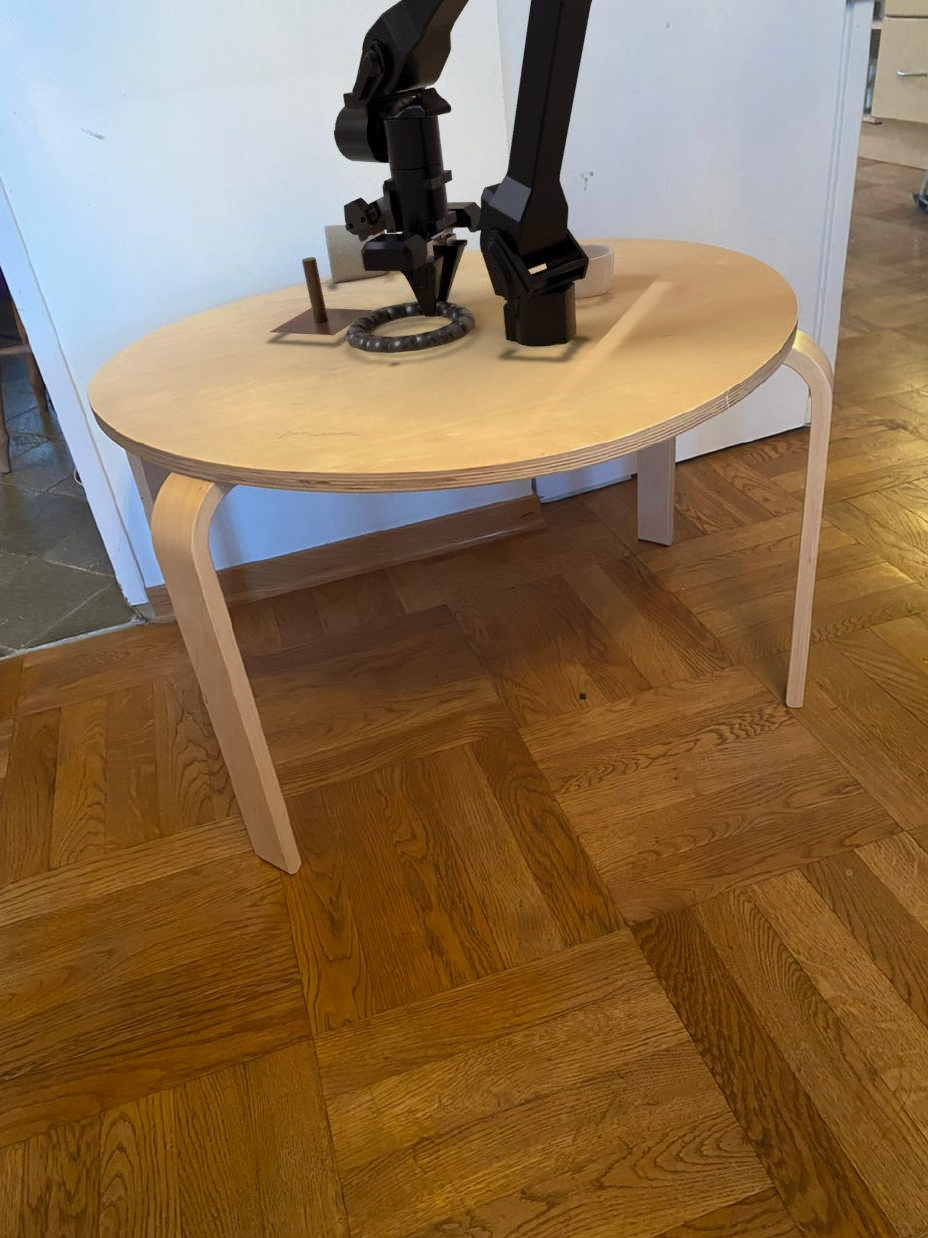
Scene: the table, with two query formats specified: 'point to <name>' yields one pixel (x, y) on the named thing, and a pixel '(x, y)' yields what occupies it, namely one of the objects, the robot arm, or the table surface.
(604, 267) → the teacup
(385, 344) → the ring
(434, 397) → the table surface
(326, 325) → the peg stand
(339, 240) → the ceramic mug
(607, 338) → the table surface
